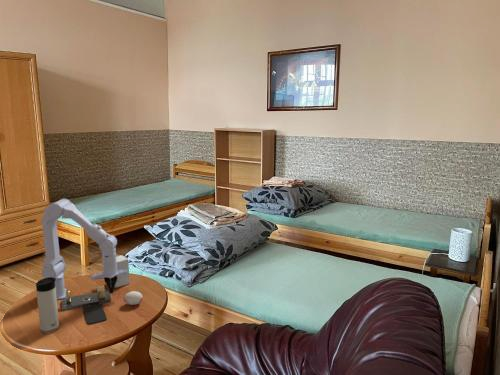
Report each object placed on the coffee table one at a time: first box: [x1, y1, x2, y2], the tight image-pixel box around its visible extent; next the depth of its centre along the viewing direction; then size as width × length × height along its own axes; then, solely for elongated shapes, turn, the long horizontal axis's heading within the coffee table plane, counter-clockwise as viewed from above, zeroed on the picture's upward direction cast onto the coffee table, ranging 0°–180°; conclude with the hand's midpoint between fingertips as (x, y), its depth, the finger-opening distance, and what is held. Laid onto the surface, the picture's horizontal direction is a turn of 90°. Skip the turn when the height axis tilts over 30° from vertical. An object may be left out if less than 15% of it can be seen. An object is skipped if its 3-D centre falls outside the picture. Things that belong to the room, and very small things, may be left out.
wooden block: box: [96, 285, 106, 299], centre depth 166 cm, size 5×3×3 cm, turn 25°
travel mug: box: [35, 277, 60, 334], centre depth 142 cm, size 6×7×20 cm
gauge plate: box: [61, 289, 112, 311], centre depth 164 cm, size 9×19×6 cm, turn 115°
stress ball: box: [123, 290, 144, 308], centre depth 163 cm, size 8×8×7 cm
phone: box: [82, 303, 108, 326], centre depth 155 cm, size 7×1×15 cm
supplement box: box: [110, 254, 131, 289], centre depth 181 cm, size 7×7×13 cm
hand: (111, 292), depth 168 cm, fingers closed
